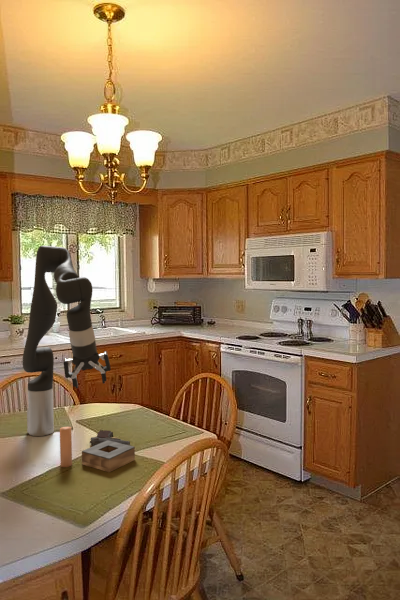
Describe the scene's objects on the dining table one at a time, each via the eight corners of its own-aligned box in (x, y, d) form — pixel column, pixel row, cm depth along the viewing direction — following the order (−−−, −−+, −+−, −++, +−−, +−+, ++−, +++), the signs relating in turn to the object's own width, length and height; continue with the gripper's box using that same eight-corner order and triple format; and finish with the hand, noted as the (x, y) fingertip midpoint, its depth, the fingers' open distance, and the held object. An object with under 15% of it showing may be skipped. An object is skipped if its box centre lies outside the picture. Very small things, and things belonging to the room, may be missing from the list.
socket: (82, 464, 157) (81, 451, 157) (108, 452, 167) (107, 440, 167) (109, 472, 151) (109, 458, 151) (134, 459, 161) (134, 446, 161)
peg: (58, 465, 156) (57, 428, 156) (66, 461, 159) (65, 425, 159) (65, 468, 155) (65, 430, 154) (74, 464, 158) (73, 427, 157)
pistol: (138, 439, 183) (128, 450, 171) (100, 436, 186) (87, 446, 174) (138, 431, 183) (128, 442, 171) (100, 428, 186) (87, 438, 174)
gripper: (105, 331, 156) (111, 375, 162) (59, 338, 153) (68, 382, 159) (106, 341, 149) (113, 386, 155) (58, 348, 147) (67, 394, 153)
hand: (90, 384), depth 157 cm, fingers open, 8 cm apart
